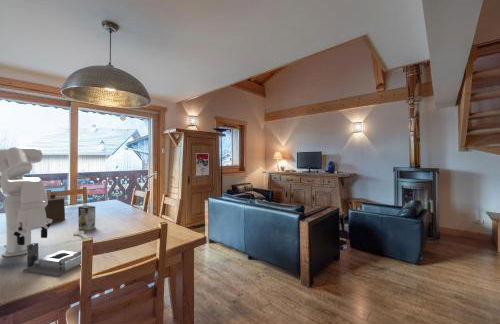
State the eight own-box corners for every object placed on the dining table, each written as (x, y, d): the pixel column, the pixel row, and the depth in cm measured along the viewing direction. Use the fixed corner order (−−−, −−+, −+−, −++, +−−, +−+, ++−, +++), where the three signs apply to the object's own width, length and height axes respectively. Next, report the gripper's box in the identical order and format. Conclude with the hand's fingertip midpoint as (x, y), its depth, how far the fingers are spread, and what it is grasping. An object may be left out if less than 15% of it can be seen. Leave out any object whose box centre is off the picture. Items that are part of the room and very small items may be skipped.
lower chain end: (32, 267, 106) (32, 260, 106) (57, 257, 116) (57, 251, 116) (58, 271, 103) (58, 264, 103) (81, 260, 113) (81, 253, 113)
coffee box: (78, 229, 164) (77, 206, 164) (86, 226, 171) (86, 205, 170) (87, 230, 162) (87, 207, 161) (95, 227, 168) (95, 206, 167)
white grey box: (37, 268, 105) (37, 257, 105) (62, 257, 116) (61, 247, 116) (64, 271, 102) (64, 260, 102) (86, 260, 113) (86, 250, 113)
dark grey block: (24, 266, 109) (24, 245, 108) (34, 262, 113) (34, 242, 112) (31, 267, 108) (31, 246, 108) (40, 263, 112) (40, 243, 112)
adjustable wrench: (93, 242, 142) (93, 239, 142) (80, 244, 137) (80, 242, 137) (83, 232, 158) (83, 229, 158) (72, 234, 154) (72, 232, 154)
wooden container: (52, 218, 192) (51, 192, 192) (69, 218, 192) (69, 192, 192) (35, 223, 177) (35, 195, 177) (54, 223, 177) (54, 195, 177)
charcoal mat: (23, 271, 104) (23, 269, 104) (59, 256, 119) (59, 254, 119) (58, 276, 100) (58, 274, 100) (90, 260, 115) (90, 258, 115)
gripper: (45, 202, 119) (46, 234, 119) (3, 209, 102) (4, 247, 102) (57, 202, 117) (57, 235, 117) (16, 209, 100) (17, 248, 100)
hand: (33, 241), depth 109 cm, fingers open, 9 cm apart
